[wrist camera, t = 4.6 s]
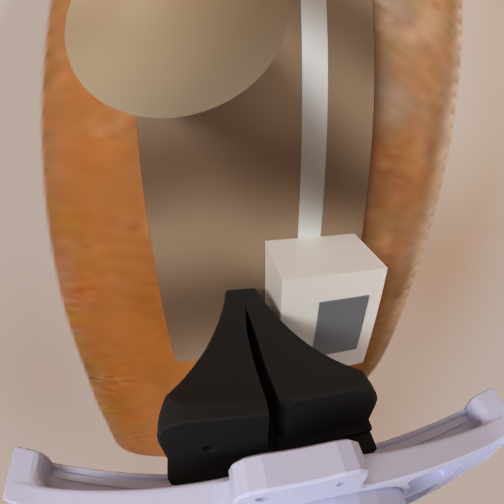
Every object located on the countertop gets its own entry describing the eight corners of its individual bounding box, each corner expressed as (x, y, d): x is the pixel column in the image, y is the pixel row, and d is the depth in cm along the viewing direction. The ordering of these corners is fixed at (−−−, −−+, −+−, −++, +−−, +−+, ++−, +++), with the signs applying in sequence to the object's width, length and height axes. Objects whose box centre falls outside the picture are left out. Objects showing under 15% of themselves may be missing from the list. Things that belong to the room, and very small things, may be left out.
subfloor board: (335, 329, 18) (342, 343, 17) (176, 345, 17) (175, 361, 16) (358, -15, 9) (370, -22, 8) (141, -22, 8) (135, -31, 7)
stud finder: (340, 321, 16) (363, 363, 13) (264, 332, 15) (277, 379, 13) (354, 233, 14) (388, 268, 11) (265, 240, 13) (282, 281, 10)
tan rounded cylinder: (248, 106, 10) (292, 116, 5) (134, 115, 10) (66, 136, 5) (247, 2, 9) (287, -74, 3) (132, 11, 8) (70, -52, 3)
